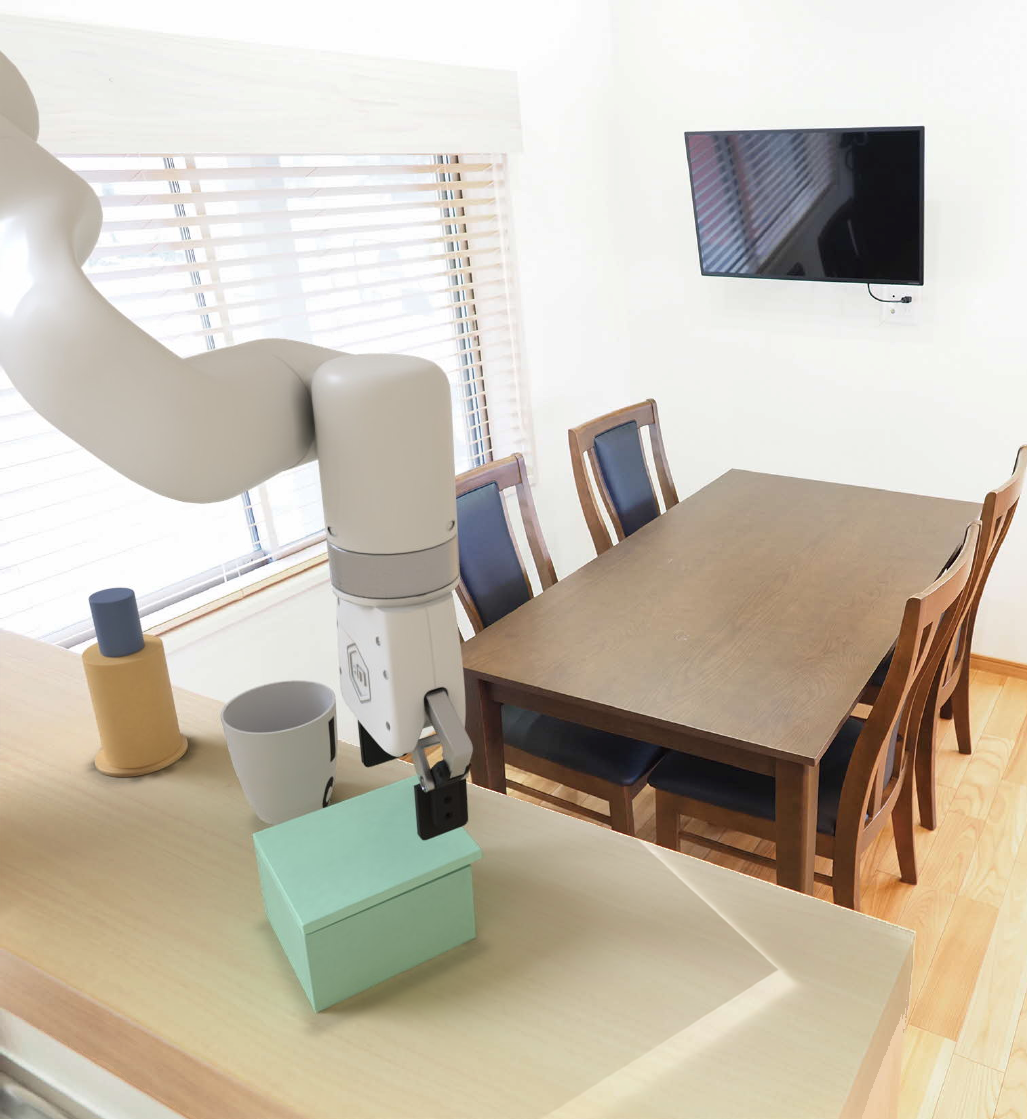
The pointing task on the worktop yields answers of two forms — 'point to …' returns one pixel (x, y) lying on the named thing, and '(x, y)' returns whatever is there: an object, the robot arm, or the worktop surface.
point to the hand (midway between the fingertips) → (413, 793)
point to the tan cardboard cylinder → (129, 684)
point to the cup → (284, 747)
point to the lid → (357, 855)
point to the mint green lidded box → (372, 935)
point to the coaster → (129, 772)
